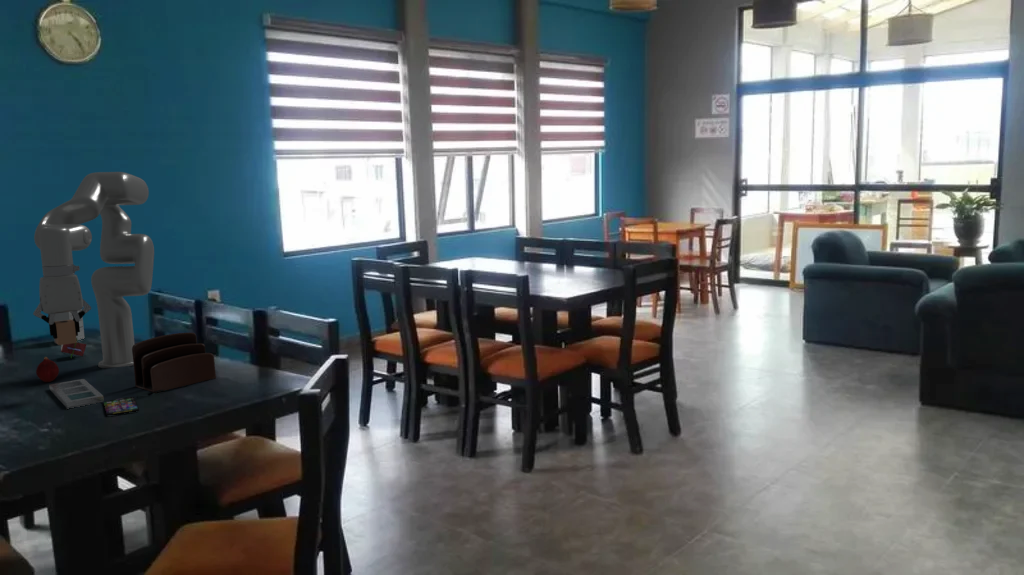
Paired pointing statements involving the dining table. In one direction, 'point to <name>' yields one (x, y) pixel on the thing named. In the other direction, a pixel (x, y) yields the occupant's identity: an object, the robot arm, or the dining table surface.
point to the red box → (73, 348)
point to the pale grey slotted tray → (76, 393)
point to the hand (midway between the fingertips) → (65, 335)
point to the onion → (47, 370)
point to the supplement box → (69, 317)
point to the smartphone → (121, 406)
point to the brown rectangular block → (65, 332)
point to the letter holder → (171, 362)
